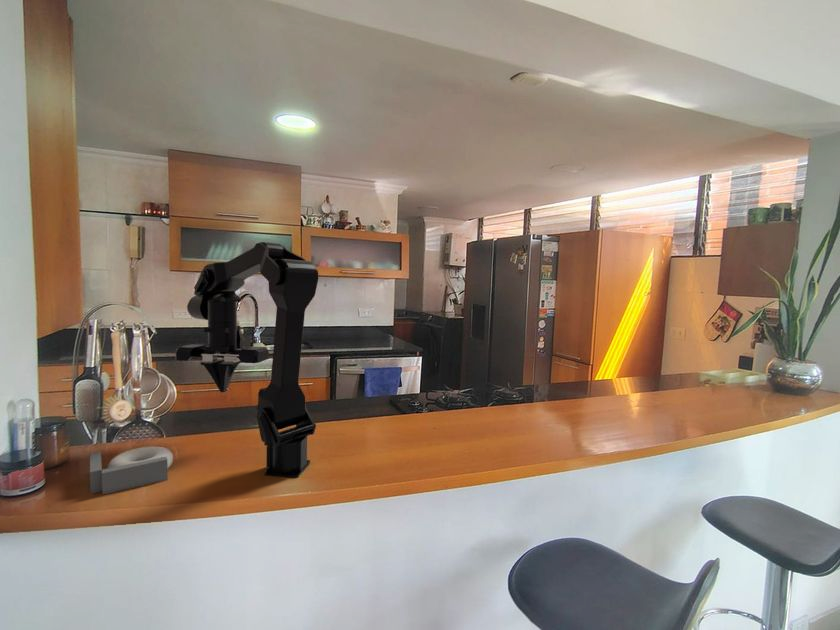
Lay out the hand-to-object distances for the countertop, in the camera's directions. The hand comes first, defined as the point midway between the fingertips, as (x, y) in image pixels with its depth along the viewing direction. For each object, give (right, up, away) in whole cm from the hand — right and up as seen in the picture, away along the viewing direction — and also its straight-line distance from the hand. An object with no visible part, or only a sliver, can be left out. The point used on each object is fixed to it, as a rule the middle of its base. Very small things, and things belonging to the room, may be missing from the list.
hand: (223, 391), depth 90 cm
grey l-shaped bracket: (-8, -12, -21) cm, 25 cm away
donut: (-4, -10, -12) cm, 16 cm away
